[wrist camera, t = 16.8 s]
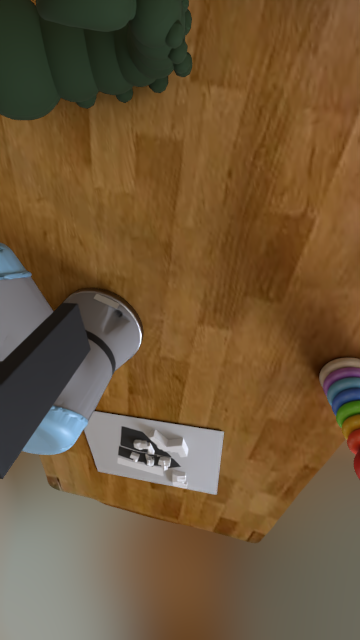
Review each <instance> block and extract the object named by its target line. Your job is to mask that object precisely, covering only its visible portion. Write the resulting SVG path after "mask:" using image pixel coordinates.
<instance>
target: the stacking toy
mask: <svg viewBox="0 0 360 640" xmlns="http://www.w3.org/2000/svg"><path fill="white" fill-rule="evenodd" d="M319 380H320V383H321V385H322V387H323V390H324V392H325V394H326V396H327V399H328V401H329V403H330V405H331V406H332V410H333V412H334V414H335V415H336V420H337V423H338V425H339V426H340V427H341V428H342V433H343V435H344V437H345V438H346V439H347V444H348V447H349V449H350V450H351V451H352V452H353V453H354V454H355V455H356V456H355V458H354V469H355V472H356V474H357V476H358V478H359V479H360V359H357V358H339V359H335V360H333V361H331V362H329V363H327V364H326V365H325V366H324V367H323V368H322V370H321V372H320V375H319Z"/></svg>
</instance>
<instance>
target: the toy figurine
mask: <svg viewBox="0 0 360 640" xmlns="http://www.w3.org/2000/svg"><path fill="white" fill-rule="evenodd" d="M188 6H189V0H36V6H35V5H34V3H33V2H32V1H30V0H0V114H1V115H3V116H5V117H8V118H10V119H14V120H34V119H38V118H41V117H43V116H45V115H46V114H48V113H49V112H50V111H52V110H53V108H54V107H55V106H56V105H57V103H58V102H59V100H60V98H63V99H65V100H68V101H70V102H76V103H77V104H78V105H79V106H80V107H83V108H87V109H88V108H90V107H91V106H93V105H94V103H95V100H96V98H97V97H96V94H97V93H98V92H99V91H101V92H103V93H105V94H110V95H116V97H117V99H118V100H119V101H121V102H124V103H126V102H128V101H129V100H131V98H132V96H133V90H132V87H133V86H136V87H144V86H147V85H149V87H150V88H151V89H152V90H153V91H154V92H156V93H161V92H163V91H164V90H165V89H166V87H167V85H168V75H170V74H171V72H172V71H173V70H174V71H175V73H176V75H178V76H180V77H185V76H187V75H189V74H190V72H191V69H192V58H191V55H190V54H189V53H188V52H187V44H186V42H185V35H187V34H188V33H189V31H190V28H191V21H192V18H191V13H190V11H189V10H188V9H187V8H188Z"/></svg>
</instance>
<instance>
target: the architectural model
mask: <svg viewBox="0 0 360 640" xmlns="http://www.w3.org/2000/svg"><path fill="white" fill-rule="evenodd" d="M84 431H85V434H86V437H87V440H88V443H89V446H90V449H91V452H92V455H93V458H94V461H95V464H96V467H97V469H98V471H99V472H104V473H109V474H114V475H119V476H124V477H129V478H134V479H139V480H144V481H150V482H155V483H160V484H165V485H170V486H175V487H180V488H185V489H190V490H195V491H200V492H205V493H210V494H215V495H216V494H217V486H218V477H219V469H220V461H221V452H222V444H223V436H224V432H222V431H215V430H209V429H203V428H197V427H190V426H184V425H178V424H171V423H165V422H159V421H153V420H146V419H140V418H134V417H128V416H121V415H115V414H109V413H102V412H96V411H94V412H93V414H92V416H91V418H90V420H89V422H88V424H87V426H86V427H85V428H84Z"/></svg>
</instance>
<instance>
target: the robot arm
mask: <svg viewBox="0 0 360 640" xmlns="http://www.w3.org/2000/svg"><path fill="white" fill-rule="evenodd" d="M31 276H32V275H31V273H30V272H29V271H27V270H26V269H25V268H24V266H23V265H22V264H21V262H20V261H19V259H18V258H17V257H16V255H15V254H14V253H13V251H12V250H11V249H10V248H9V247H8V246H6V245H5V244H3V243H0V479H3V477H4V476H5V475H6V473H7V472H8V470H9V469H10V467H11V466H12V464H13V463H14V461H15V460H16V459H17V457H18V456H19V454H20V453H21V451H25V452H28V453H34V454H42V455H53V454H59V453H62V452H64V451H66V450H68V449H69V448H71V447H72V446H73V445H74V443H75V442H76V440H77V439H78V437H79V435H80V434H81V432H82V431H83V429H84V428H85V427H86V426H87V424H88V422H89V420H90V418H91V416H92V414H93V412H94V410H95V408H96V406H97V404H98V402H99V400H100V398H101V396H102V395H103V393H104V391H105V389H106V387H107V385H108V383H109V381H110V379H111V377H112V375H113V373H114V372H115V371H116V370H117V369H118V368H119V367H120V366H121V365H123V364H124V363H125V362H126V361H127V360H129V359H130V358H131V357H133V355H134V354H135V353H136V352H137V350H138V349H139V347H140V344H141V342H142V339H143V326H142V323H141V320H140V318H139V316H138V314H137V313H136V311H135V310H134V309H133V308H132V306H131V305H130V304H129V303H128V302H126V301H125V300H124V299H122V298H121V297H119V296H118V295H116V294H114V293H112V292H109V291H107V290H103V289H98V288H85V289H81V290H78V291H76V292H74V293H73V294H71V295H70V296H69V297H68V298H67V299H66V300H65V301H64V302H63V303H62V304H61V305H60V306H59V307H58V308H57V309H56V310H55V311H53V310H52V308H51V307H50V305H49V304H48V302H47V301H46V299H45V298H44V296H43V295H42V293H41V292H40V290H39V289H38V287H37V285H36V284H35V282H34V281H33V279H32V278H31Z"/></svg>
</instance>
